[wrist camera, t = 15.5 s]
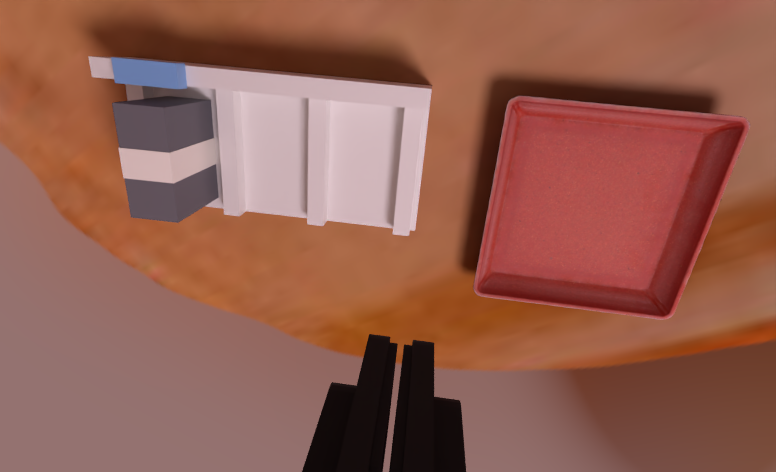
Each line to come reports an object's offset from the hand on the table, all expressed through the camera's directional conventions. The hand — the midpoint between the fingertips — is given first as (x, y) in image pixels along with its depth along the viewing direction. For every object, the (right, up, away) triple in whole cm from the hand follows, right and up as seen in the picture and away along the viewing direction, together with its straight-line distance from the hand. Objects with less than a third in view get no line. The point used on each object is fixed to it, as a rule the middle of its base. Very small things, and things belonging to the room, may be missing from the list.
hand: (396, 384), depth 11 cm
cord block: (-18, +12, +28) cm, 36 cm away
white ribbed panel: (-10, +13, +28) cm, 32 cm away
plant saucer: (+18, +7, +28) cm, 33 cm away
